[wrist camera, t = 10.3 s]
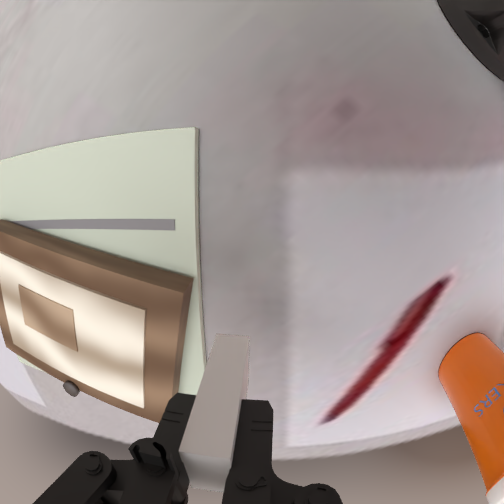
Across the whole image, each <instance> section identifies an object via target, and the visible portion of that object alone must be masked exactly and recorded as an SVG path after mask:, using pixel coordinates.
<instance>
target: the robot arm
mask: <svg viewBox="0 0 504 504" xmlns="http://www.w3.org/2000/svg"><path fill="white" fill-rule="evenodd" d="M438 2H439V4H440V6H441V8H442V10H443V12H444V14H445V15H446V17H447V19H448V20H449V22H450V23H451V25H452V26H453V28H454V29H455V31H456V32H457V34H458V35H459V36H460V38H461V39H462V40H463V42H464V43H465V44H466V45H467V46H468V48H469V49H470V50H471V51H472V52H473V53H474V55H475V56H476V57H477V58H478V59H479V60H480V61H481V62H482V63H483V64H484V65H485V66H486V67H487V68H488V69H489V70H490V71H492V72H493V73H494V74H495V75H497V76H498V77H499V78H501V79H502V80H504V0H438ZM248 382H249V336H240V335H225V334H216V337H215V340H214V343H213V346H212V349H211V352H210V356H209V359H208V362H207V365H206V368H205V371H204V374H203V377H202V380H201V383H200V386H199V389H198V392H197V395H191V394H184V393H178V392H177V393H176V394H175V395H174V396H173V397H172V398H171V399H170V400H169V401H168V404H167V406H166V408H165V412H164V413H163V416H162V418H161V420H160V423H159V425H158V428H157V430H156V432H155V435H154V437H153V438H143V439H139V440H137V441H136V442H134V443H133V444H132V445H131V446H130V447H129V450H130V453H131V455H132V456H133V458H134V459H133V460H110V459H109V458H108V457H107V456H105V455H104V454H103V453H100V452H98V451H89V452H86V453H83V454H82V455H81V456H79V457H78V458H77V459H76V460H75V461H74V462H73V463H72V464H71V465H70V467H68V469H66V471H65V472H64V473H63V474H62V475H61V476H60V477H59V478H58V479H57V480H56V481H55V482H54V483H53V484H52V485H51V486H50V487H49V488H48V489H47V490H46V491H45V492H44V493H43V494H42V495H41V496H40V497H39V498H38V499H37V500H36V501H35V502H34V503H33V504H187V503H188V495H187V489H188V486H189V483H190V486H191V488H197V489H204V490H210V491H217V492H224V494H223V499H222V504H343V503H342V501H341V499H340V496H339V494H338V493H337V492H336V490H335V489H333V488H332V487H330V486H328V485H325V484H320V483H318V484H310V485H308V486H305V487H302V486H298V485H294V484H290V483H287V482H285V481H283V480H281V479H280V478H278V477H277V476H276V474H275V473H274V471H273V469H272V464H271V461H272V436H273V409H272V407H271V405H270V403H269V401H264V400H247V399H246V398H247V390H248Z"/></svg>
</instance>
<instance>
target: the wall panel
mask: <svg viewBox="0 0 504 504" xmlns="http://www.w3.org/2000/svg"><path fill="white" fill-rule="evenodd" d="M198 145H199V129H198V128H196V127H190V128H175V129H163V130H152V131H143V132H134V133H126V134H119V135H112V136H105V137H99V138H93V139H88V140H82V141H77V142H72V143H67V144H62V145H58V146H53V147H49V148H45V149H41V150H37V151H33V152H29V153H25V154H22V155H18V156H14V157H11V158H8V159H4V160H1V161H0V220H1V219H3V220H6V221H8V222H11V223H14V224H17V225H20V226H23V227H26V228H28V229H31V230H34V231H37V232H40V233H43V234H46V235H49V236H52V237H55V238H58V239H61V240H65V241H68V242H71V243H74V244H77V245H80V246H83V247H87V248H90V249H93V250H96V251H100V252H103V253H106V254H109V255H113V256H116V257H119V258H123V259H126V260H130V261H133V262H137V263H140V264H144V265H147V266H151V267H154V268H158V269H161V270H165V271H168V272H172V273H176V274H179V275H183V276H187V277H191V278H194V279H193V285H192V292H191V298H190V305H189V311H188V318H187V325H186V332H185V340H184V348H183V355H182V364H181V372H180V381H179V390H178V393H184V394H191V395H197V392H198V389H199V386H200V383H201V380H202V377H203V374H204V371H205V368H206V365H207V362H206V350H205V337H204V323H203V308H202V291H201V271H200V245H199V202H198ZM17 357H18V359H19V361H20V362H21V363H24V364H26V365H28V366H30V367H33V368H35V369H38V370H40V371H42V372H45V371H43V370H41V369H40V368H38V367H36V366H35V365H33V364H31V363H30V362H28V361H27V360H25V359H24V358H22V357H20V356H19V355H17ZM45 373H46V372H45ZM47 374H48V373H47Z"/></svg>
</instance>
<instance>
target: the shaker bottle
mask: <svg viewBox="0 0 504 504" xmlns="http://www.w3.org/2000/svg"><path fill="white" fill-rule="evenodd" d="M439 379H440V382H441V384H442V386H443V388H444V390H445V392H446V394H447V396H448V398H449V400H450V402H451V404H452V406H453V408H454V410H455V412H456V414H457V416H458V419H459V421H460V423H461V425H462V427H463V430H464V432H465V434H466V437H467V439H468V441H469V444H470V446H471V449H472V451H473V454H474V456H475V459H476V461H477V464H478V466H479V469H480V472H481V474H482V477H483V480H484V483H485V486H486V489H487V492H486V497H487V499H488V502H489V504H504V353H503V352H502V351H501V350H500V349H499V348H498V347H497V346H496V345H495V344H494V343H493V342H492V341H491V340H490V339H489V338H488V337H487V336H485V335H484V334H482V333H474V334H471V335H468V336H466V337H465V338H463V339H461V340H460V341H459V342H458V343H456V344H455V345H454V346H453V347H452V348H451V349H450V351H449V352H448V353H447V355H446V356H445V357H444V359H443V361H442V363H441V365H440V368H439Z"/></svg>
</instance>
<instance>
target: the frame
mask: <svg viewBox="0 0 504 504" xmlns="http://www.w3.org/2000/svg"><path fill="white" fill-rule="evenodd" d="M193 279H194V278H191V277H187V276H183V275H179V274H176V273H172V272H168V271H165V270H161V269H158V268H154V267H151V266H147V265H144V264H140V263H137V262H133V261H130V260H126V259H123V258H119V257H116V256H113V255H109V254H106V253H103V252H100V251H96V250H93V249H90V248H87V247H83V246H80V245H77V244H74V243H71V242H68V241H65V240H61V239H58V238H55V237H52V236H49V235H46V234H43V233H40V232H37V231H34V230H31V229H28V228H26V227H23V226H20V225H17V224H14V223H11V222H8V221H6V220H3V219H1V220H0V326H1V330H2V334H3V338H4V341H5V344H6V347H7V348H9V349H10V350H11V351H13V352H14V353H16V354H17V355H19V356H20V357H22V358H24V359H25V360H27V361H28V362H30V363H31V364H33V365H35V366H36V367H38V368H40V369H41V370H43V371H45V372H46V373H48V374H50V375H52V376H53V377H55V378H57V379H59V380H61V381H63V382H64V384H63V387H64V389H65V391H66V392H67V393H68V394H70V395H71V396H74V397H76V396H77V395H78V393H79V392H80V391H82V392H84V393H86V394H88V395H90V396H93V397H95V398H97V399H99V400H101V401H104V402H106V403H108V404H110V405H113V406H115V407H118V408H120V409H122V410H125V411H128V412H130V413H133V414H135V415H138V416H141V417H143V418H146V419H149V420H152V421H155V422H158V423H160V420H161V418H162V416H163V413H164V412H165V408H166V406H167V404H168V401H169V400H170V399H171V398H172V397H173V396H174V395H175V394H176V393H177V392H178V390H179V381H180V372H181V364H182V355H183V348H184V340H185V332H186V325H187V318H188V311H189V305H190V298H191V292H192V285H193Z"/></svg>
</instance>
